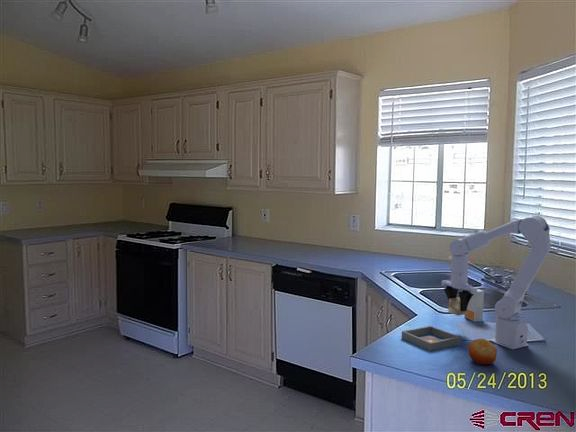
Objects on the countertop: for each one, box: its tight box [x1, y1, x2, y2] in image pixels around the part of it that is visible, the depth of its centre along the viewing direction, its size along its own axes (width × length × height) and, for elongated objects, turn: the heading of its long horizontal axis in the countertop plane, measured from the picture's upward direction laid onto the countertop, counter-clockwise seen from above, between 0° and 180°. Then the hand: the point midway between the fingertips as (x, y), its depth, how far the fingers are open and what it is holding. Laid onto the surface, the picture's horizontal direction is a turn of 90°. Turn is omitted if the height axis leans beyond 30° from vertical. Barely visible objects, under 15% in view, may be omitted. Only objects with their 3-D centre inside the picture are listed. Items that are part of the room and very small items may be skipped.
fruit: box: [467, 338, 498, 366], centre depth 147 cm, size 8×8×8 cm
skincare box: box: [463, 288, 485, 323], centre depth 190 cm, size 6×4×12 cm
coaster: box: [421, 336, 441, 342], centre depth 165 cm, size 7×7×1 cm
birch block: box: [447, 297, 467, 317], centre depth 174 cm, size 4×4×5 cm
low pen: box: [401, 325, 462, 352], centre depth 165 cm, size 14×14×2 cm
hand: (457, 309), depth 174 cm, fingers closed on birch block, 4 cm apart
